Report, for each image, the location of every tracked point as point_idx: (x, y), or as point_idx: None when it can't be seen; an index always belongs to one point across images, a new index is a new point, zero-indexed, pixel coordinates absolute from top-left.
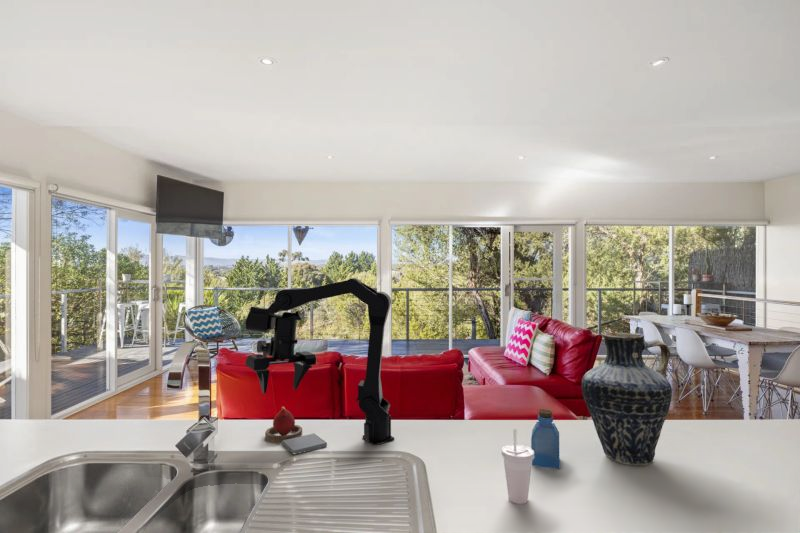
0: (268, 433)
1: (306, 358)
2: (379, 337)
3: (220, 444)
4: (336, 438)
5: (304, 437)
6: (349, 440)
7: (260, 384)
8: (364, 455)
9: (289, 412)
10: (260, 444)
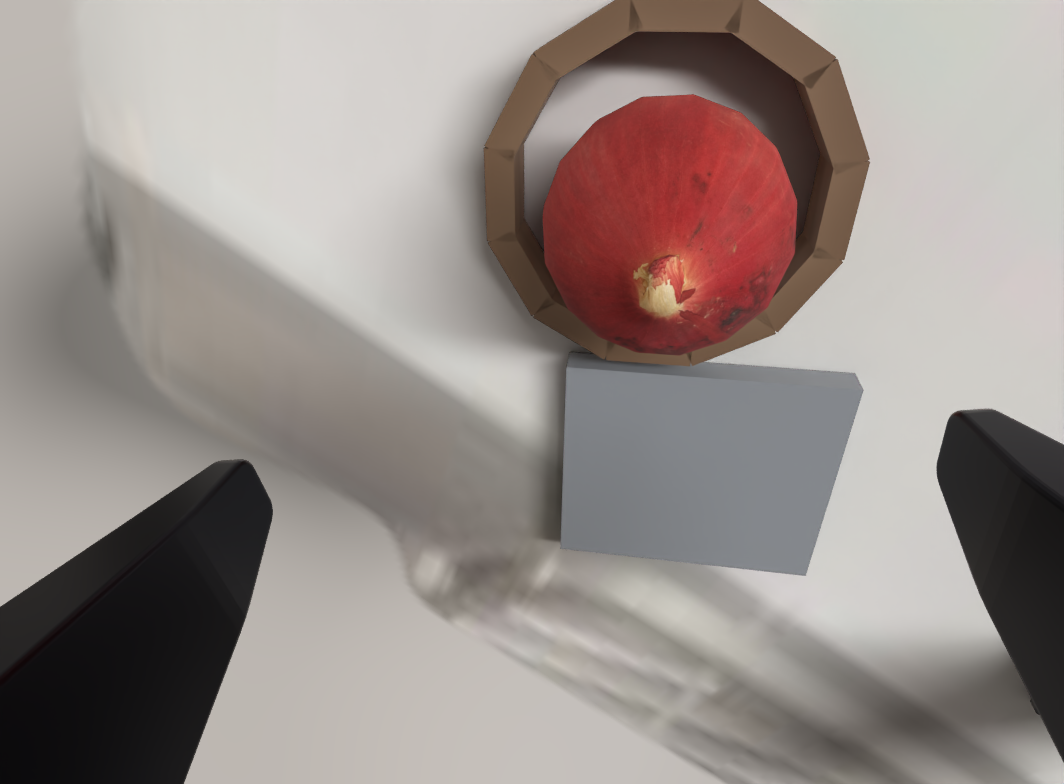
0: (502, 196)
1: None
2: None
3: (109, 19)
4: None
5: (740, 416)
6: None
7: (58, 587)
8: (868, 734)
9: (726, 316)
10: (424, 245)
